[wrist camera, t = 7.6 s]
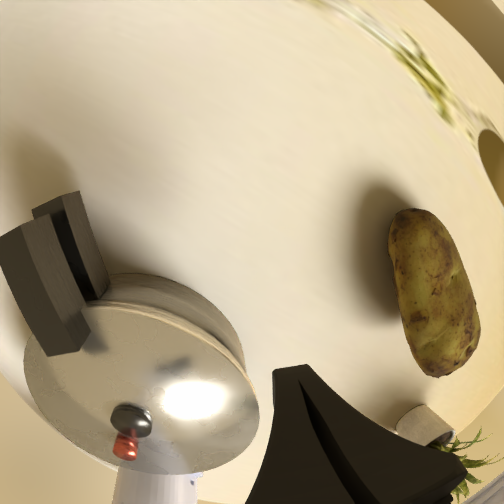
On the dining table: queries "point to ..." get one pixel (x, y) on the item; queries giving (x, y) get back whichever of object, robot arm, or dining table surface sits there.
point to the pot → (131, 279)
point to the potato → (432, 293)
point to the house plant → (436, 439)
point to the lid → (124, 370)
